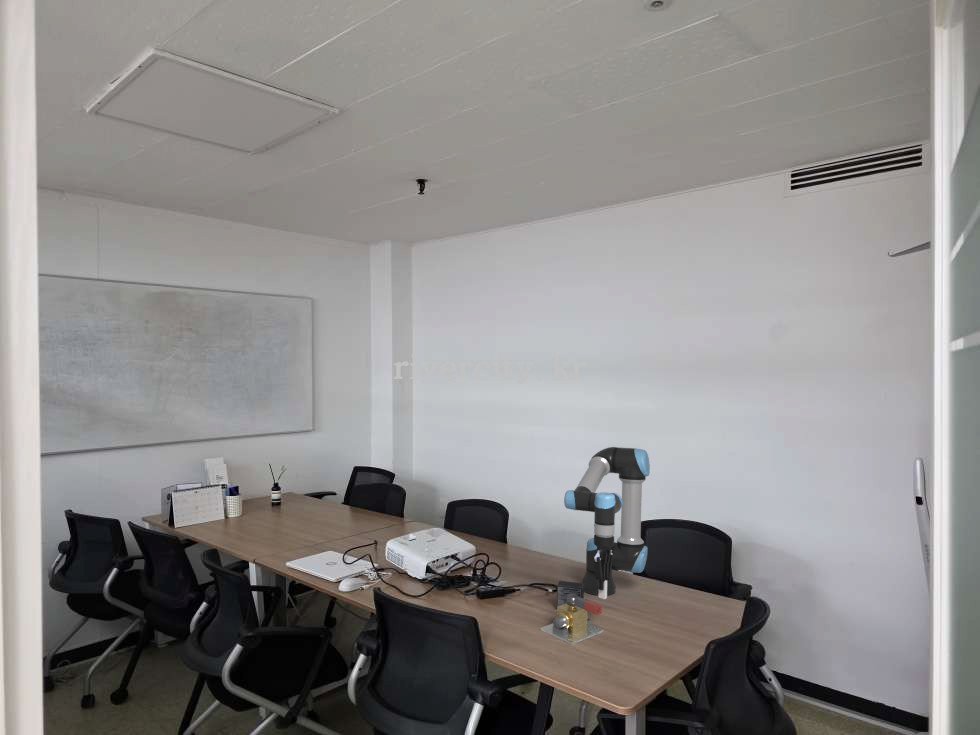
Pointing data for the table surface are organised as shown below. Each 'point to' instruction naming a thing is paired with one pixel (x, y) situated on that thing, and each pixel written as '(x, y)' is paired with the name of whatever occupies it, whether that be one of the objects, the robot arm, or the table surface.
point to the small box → (568, 591)
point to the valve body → (571, 625)
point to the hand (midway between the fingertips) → (602, 597)
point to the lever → (584, 604)
